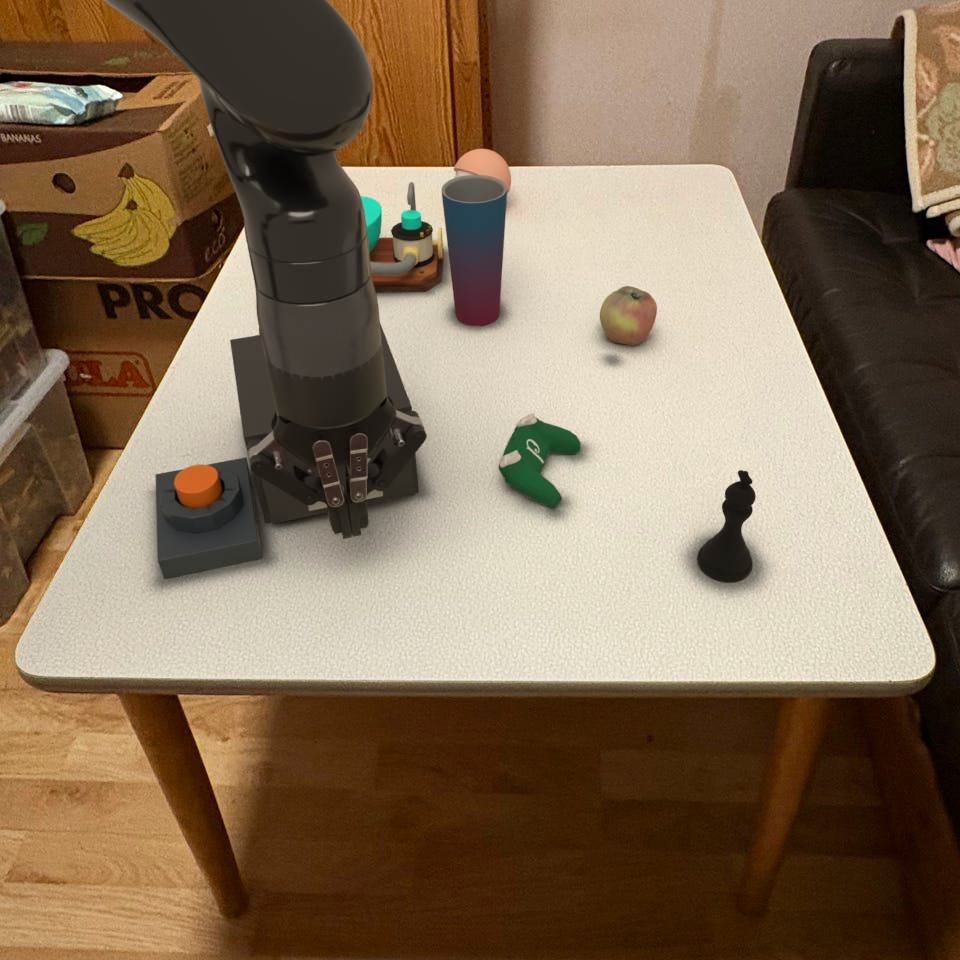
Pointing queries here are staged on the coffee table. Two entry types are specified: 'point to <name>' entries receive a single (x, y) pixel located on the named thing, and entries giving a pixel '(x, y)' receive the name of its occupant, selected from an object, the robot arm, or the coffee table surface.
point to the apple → (628, 315)
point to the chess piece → (730, 536)
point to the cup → (475, 245)
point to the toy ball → (484, 165)
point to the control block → (207, 524)
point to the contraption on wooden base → (403, 250)
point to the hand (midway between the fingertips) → (350, 529)
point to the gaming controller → (535, 457)
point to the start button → (198, 485)
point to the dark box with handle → (290, 508)
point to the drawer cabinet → (260, 401)
